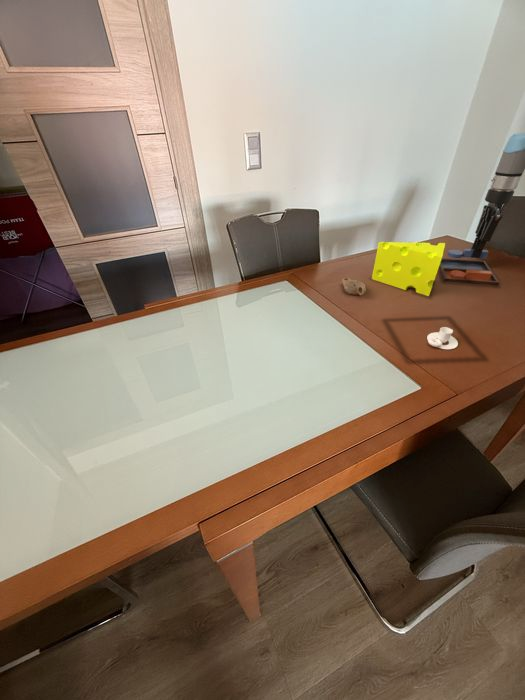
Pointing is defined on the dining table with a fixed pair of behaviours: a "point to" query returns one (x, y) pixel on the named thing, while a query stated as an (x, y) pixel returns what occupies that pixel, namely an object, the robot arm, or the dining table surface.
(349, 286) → the oil lamp
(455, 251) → the blue spoon
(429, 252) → the cheese wedge
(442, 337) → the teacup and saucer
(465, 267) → the cutlery tray
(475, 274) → the terracotta spoon
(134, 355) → the dining table surface
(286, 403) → the dining table surface
